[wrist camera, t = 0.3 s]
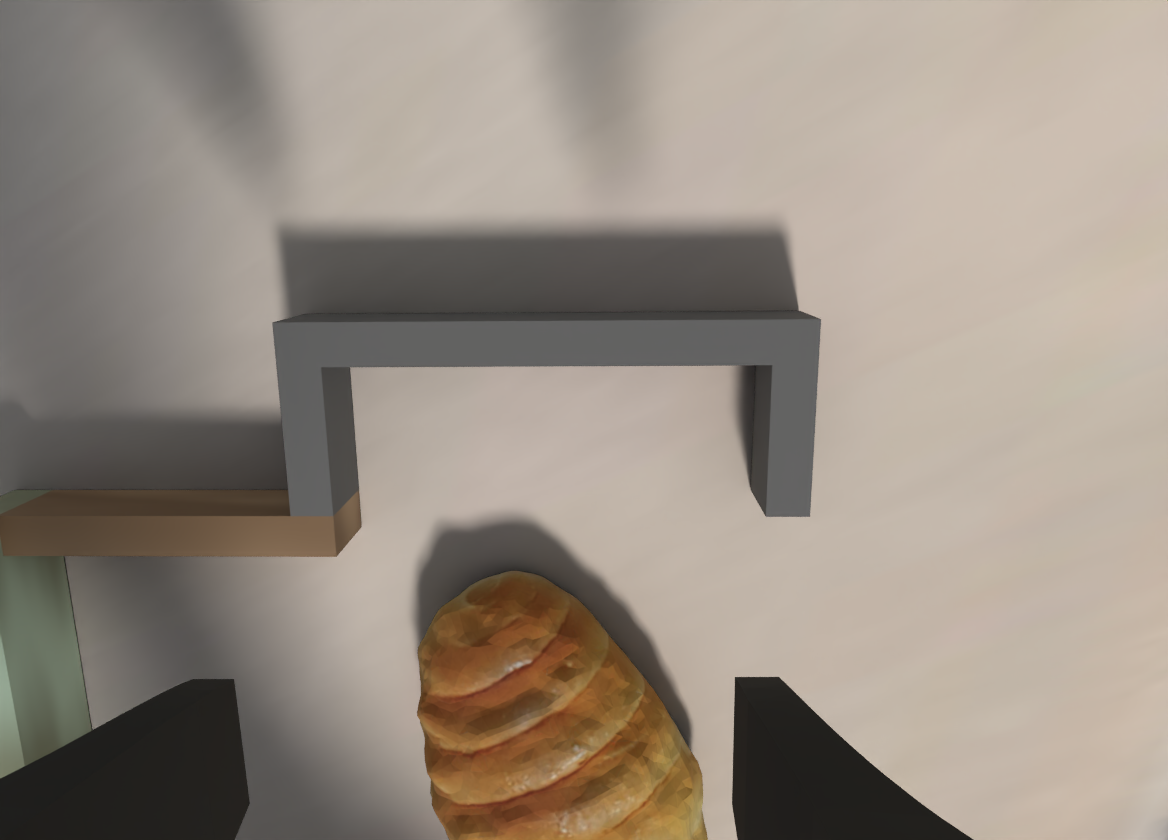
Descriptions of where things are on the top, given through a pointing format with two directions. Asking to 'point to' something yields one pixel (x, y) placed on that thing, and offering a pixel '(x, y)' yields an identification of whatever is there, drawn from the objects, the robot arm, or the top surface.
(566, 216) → the top surface
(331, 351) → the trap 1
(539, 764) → the pastry
